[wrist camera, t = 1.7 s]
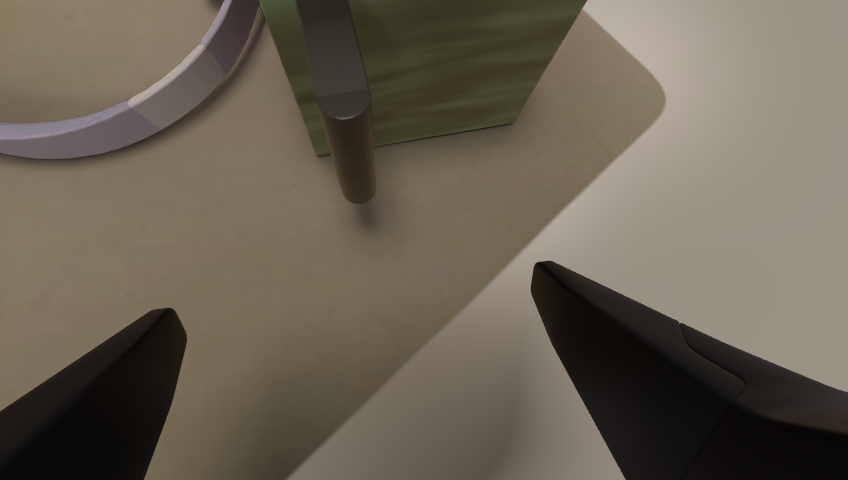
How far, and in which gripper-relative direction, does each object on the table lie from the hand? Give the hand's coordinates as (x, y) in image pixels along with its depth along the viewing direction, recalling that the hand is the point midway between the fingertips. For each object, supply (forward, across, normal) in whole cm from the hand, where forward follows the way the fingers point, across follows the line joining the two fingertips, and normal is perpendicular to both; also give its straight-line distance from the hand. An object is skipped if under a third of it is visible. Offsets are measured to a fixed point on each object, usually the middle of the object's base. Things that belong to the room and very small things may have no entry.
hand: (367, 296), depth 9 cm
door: (+14, -4, +2) cm, 15 cm away
